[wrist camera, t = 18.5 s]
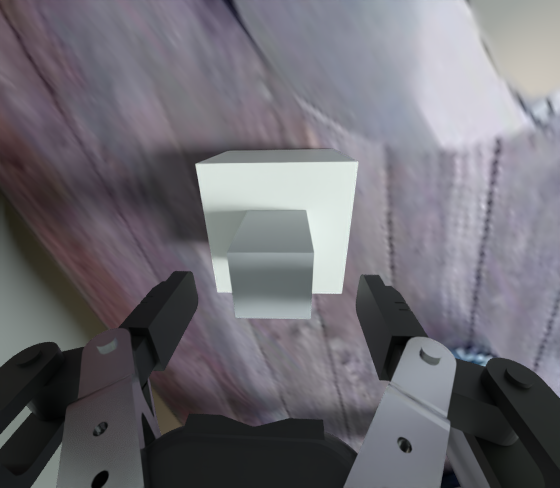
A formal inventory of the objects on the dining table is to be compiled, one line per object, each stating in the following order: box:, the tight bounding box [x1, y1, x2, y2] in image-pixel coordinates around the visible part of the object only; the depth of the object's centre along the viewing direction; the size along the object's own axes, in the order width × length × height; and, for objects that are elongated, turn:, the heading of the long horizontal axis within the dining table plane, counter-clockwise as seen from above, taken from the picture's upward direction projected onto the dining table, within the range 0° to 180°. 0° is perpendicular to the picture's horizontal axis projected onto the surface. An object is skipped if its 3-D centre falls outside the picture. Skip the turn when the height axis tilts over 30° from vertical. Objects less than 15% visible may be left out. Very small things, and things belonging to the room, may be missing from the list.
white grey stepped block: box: [196, 149, 358, 319], centre depth 18 cm, size 10×10×15 cm
